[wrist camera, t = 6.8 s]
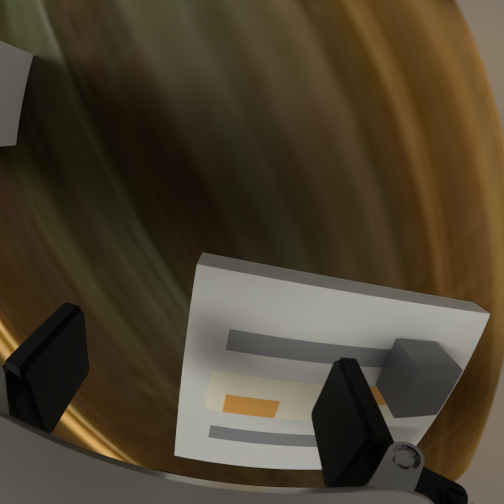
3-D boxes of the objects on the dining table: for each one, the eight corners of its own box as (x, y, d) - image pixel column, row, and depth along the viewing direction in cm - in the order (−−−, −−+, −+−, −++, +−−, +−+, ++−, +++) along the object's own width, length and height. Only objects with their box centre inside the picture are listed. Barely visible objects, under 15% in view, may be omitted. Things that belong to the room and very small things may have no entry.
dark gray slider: (395, 338, 14) (421, 370, 12) (436, 342, 15) (462, 370, 12) (375, 383, 15) (394, 418, 12) (415, 384, 15) (436, 414, 12)
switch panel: (202, 252, 15) (196, 264, 13) (473, 302, 17) (491, 314, 15) (178, 435, 19) (174, 456, 17) (395, 446, 20) (403, 462, 18)
